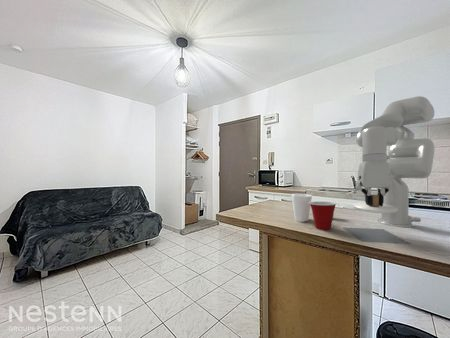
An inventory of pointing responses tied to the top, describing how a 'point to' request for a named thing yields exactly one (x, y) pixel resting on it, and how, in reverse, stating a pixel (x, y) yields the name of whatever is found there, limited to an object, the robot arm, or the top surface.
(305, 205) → the foam cup
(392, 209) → the lid
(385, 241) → the mat
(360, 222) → the top surface
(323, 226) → the plastic cup
